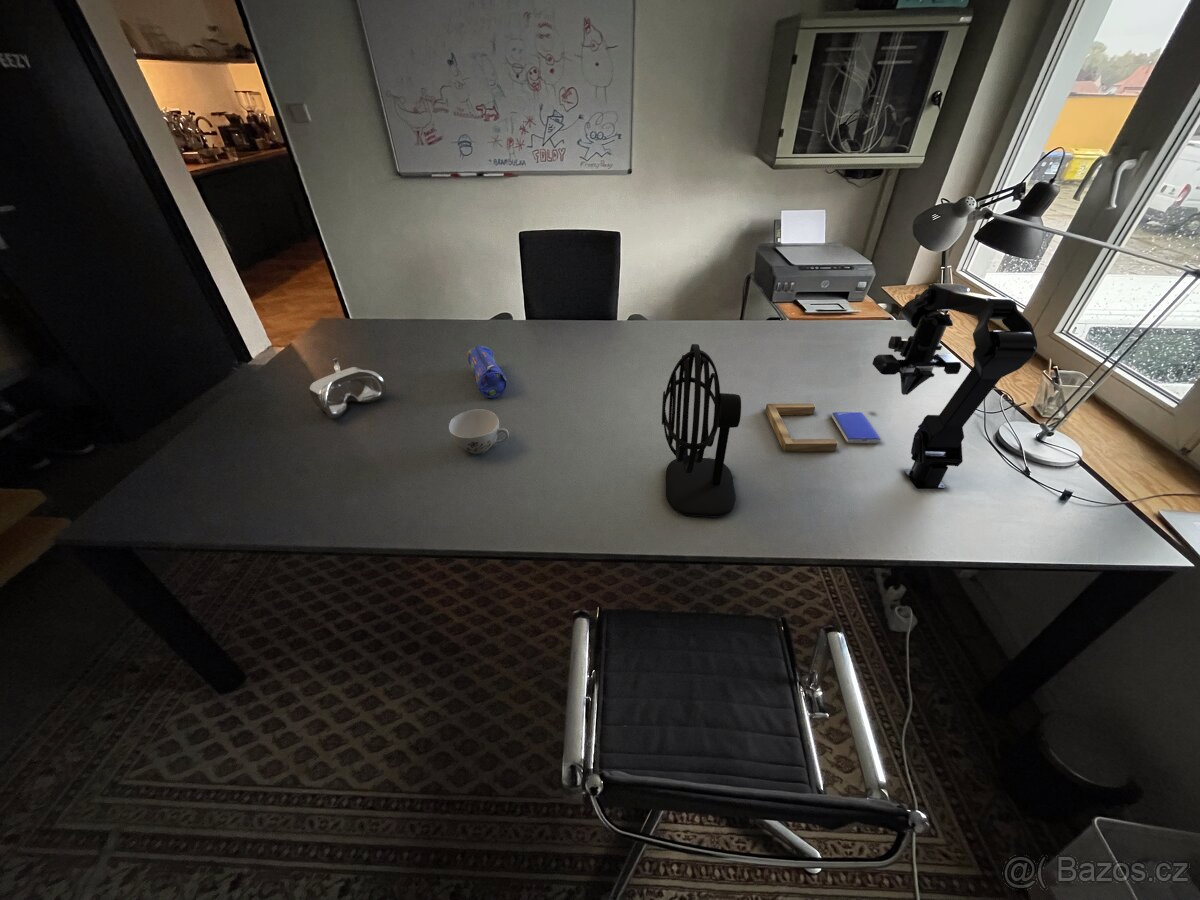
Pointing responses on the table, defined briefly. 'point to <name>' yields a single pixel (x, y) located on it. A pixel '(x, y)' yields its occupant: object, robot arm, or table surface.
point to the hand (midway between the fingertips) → (904, 394)
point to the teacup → (476, 430)
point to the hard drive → (855, 427)
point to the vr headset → (346, 389)
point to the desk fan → (692, 477)
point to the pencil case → (486, 372)
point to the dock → (783, 435)
